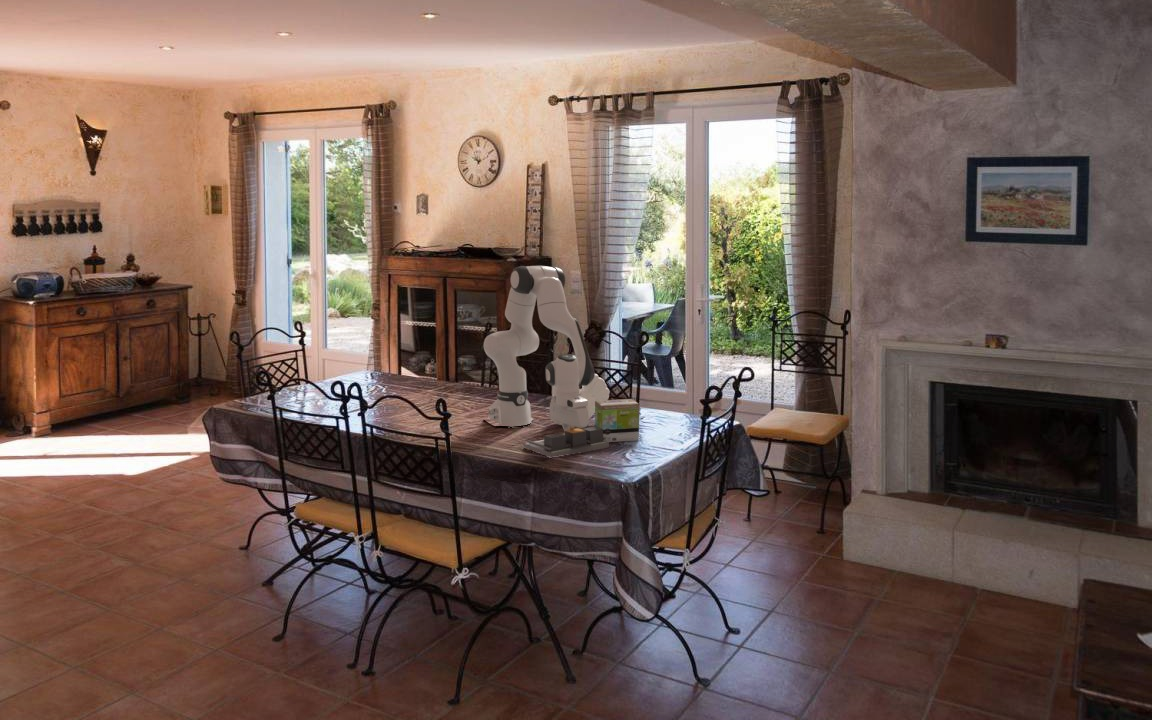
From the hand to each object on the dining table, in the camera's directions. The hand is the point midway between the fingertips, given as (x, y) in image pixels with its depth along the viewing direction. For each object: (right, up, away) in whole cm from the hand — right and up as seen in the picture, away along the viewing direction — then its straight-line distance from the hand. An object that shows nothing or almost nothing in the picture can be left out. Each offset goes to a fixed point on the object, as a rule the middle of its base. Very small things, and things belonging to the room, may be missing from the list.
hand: (568, 435), depth 368 cm
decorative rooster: (+4, +1, +39) cm, 39 cm away
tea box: (+18, -3, +15) cm, 24 cm away
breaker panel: (-1, -5, +2) cm, 5 cm away
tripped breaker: (+3, -3, -3) cm, 5 cm away
